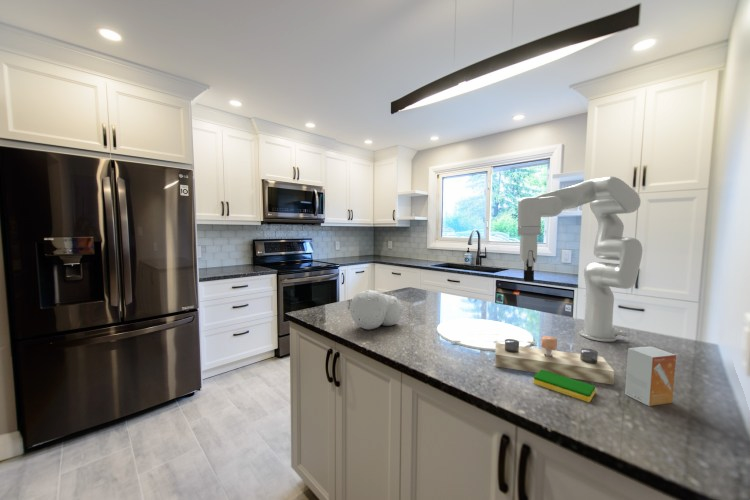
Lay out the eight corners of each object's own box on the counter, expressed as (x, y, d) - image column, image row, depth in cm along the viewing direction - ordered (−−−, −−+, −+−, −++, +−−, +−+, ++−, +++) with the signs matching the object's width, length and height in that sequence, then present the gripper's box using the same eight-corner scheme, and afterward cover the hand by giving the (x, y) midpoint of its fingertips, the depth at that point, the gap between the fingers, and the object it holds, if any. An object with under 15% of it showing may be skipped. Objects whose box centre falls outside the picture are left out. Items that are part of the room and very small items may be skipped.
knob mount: (601, 368, 99) (602, 356, 99) (613, 384, 89) (614, 371, 89) (495, 353, 111) (495, 343, 111) (495, 366, 101) (495, 354, 101)
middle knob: (554, 357, 101) (555, 336, 101) (557, 362, 97) (558, 341, 97) (539, 355, 103) (540, 335, 102) (541, 360, 99) (542, 339, 98)
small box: (649, 407, 78) (652, 357, 77) (624, 394, 84) (626, 347, 83) (673, 403, 80) (677, 354, 79) (647, 390, 86) (649, 345, 85)
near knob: (594, 370, 97) (595, 349, 97) (598, 376, 93) (599, 354, 93) (578, 368, 99) (579, 347, 98) (581, 373, 95) (582, 352, 94)
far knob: (518, 359, 105) (518, 339, 105) (518, 364, 101) (519, 344, 101) (504, 357, 107) (504, 338, 106) (504, 362, 103) (505, 342, 102)
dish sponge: (541, 376, 95) (541, 369, 95) (595, 394, 85) (595, 385, 85) (532, 384, 90) (533, 376, 90) (589, 404, 80) (589, 395, 80)
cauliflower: (416, 309, 144) (391, 270, 144) (386, 341, 127) (357, 297, 126) (389, 319, 159) (366, 283, 159) (358, 349, 141) (332, 309, 141)
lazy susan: (554, 353, 112) (555, 344, 112) (447, 352, 113) (448, 343, 113) (509, 321, 152) (509, 314, 152) (430, 320, 153) (430, 313, 153)
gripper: (516, 231, 120) (515, 277, 122) (519, 232, 106) (519, 284, 108) (537, 230, 118) (537, 277, 119) (544, 231, 104) (543, 285, 105)
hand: (528, 280), depth 113 cm, fingers closed
